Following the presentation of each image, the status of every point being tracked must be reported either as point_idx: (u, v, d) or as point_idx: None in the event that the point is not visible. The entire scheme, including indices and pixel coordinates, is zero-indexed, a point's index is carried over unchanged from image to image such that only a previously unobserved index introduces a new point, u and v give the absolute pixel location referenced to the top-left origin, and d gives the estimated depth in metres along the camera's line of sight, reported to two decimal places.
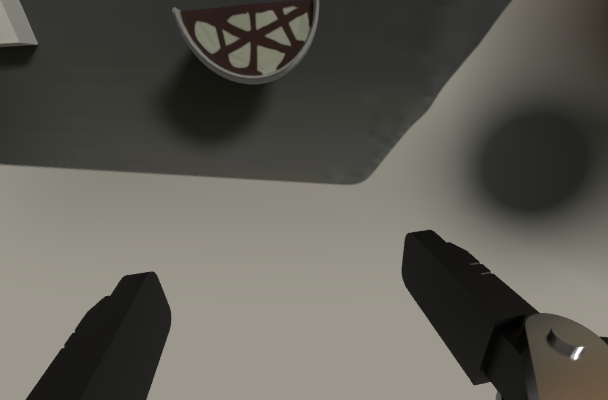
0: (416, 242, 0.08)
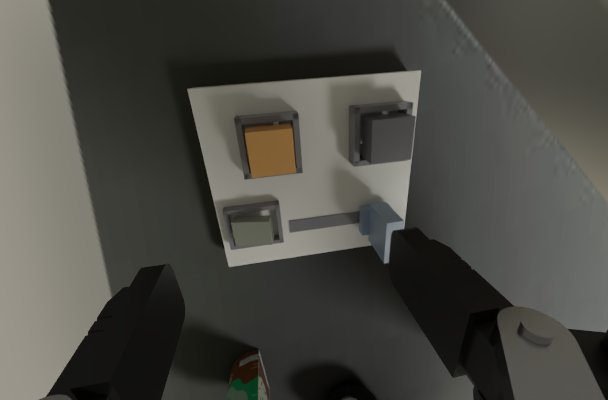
0: (400, 240, 0.09)
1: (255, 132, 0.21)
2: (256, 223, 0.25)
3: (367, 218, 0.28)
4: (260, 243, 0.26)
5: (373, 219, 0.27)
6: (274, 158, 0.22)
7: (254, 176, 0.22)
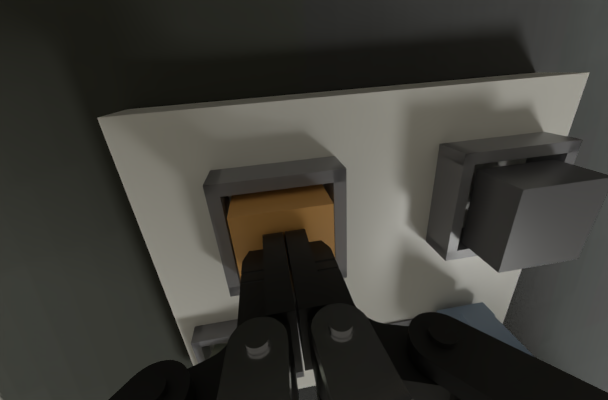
0: (286, 241, 0.09)
1: (251, 215, 0.09)
2: None
3: None
4: None
5: None
6: None
7: None
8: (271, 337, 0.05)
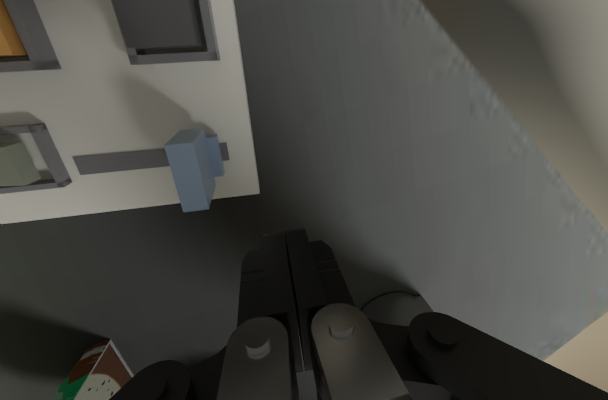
0: None
1: None
2: None
3: None
4: (8, 183, 0.18)
5: None
6: None
7: None
8: (271, 337, 0.05)
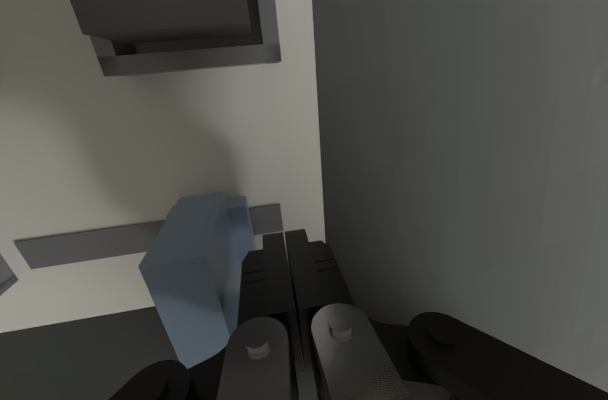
0: (286, 241, 0.09)
1: None
2: None
3: None
4: None
5: None
6: None
7: None
8: (271, 337, 0.05)
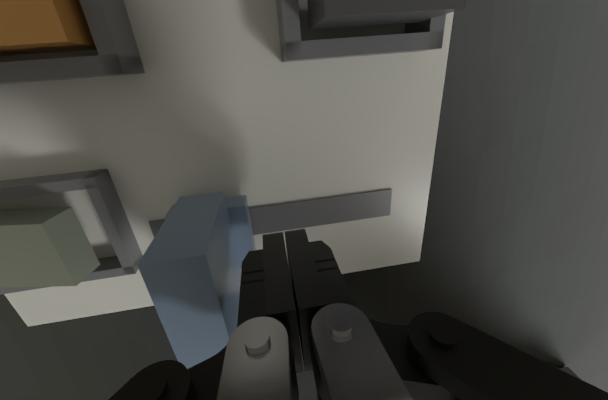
0: (286, 241, 0.09)
1: None
2: (8, 230, 0.09)
3: None
4: (45, 282, 0.10)
5: None
6: None
7: None
8: (271, 337, 0.05)
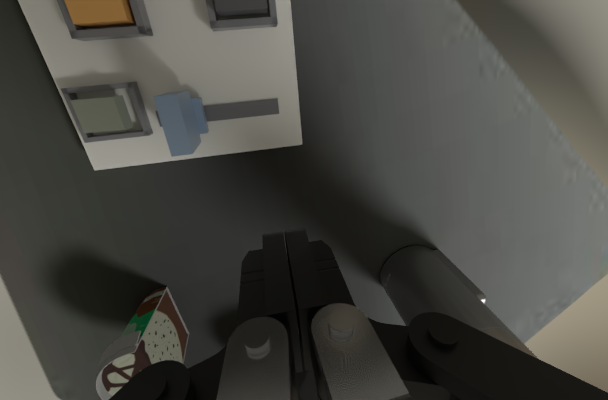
0: (286, 241, 0.09)
1: None
2: (98, 100, 0.22)
3: None
4: (111, 128, 0.23)
5: None
6: None
7: (76, 21, 0.19)
8: (271, 337, 0.05)
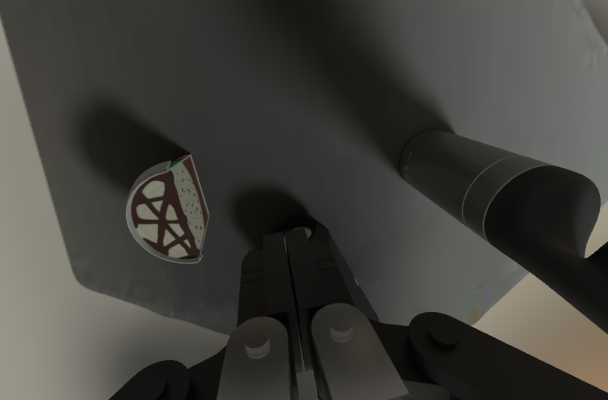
0: (286, 241, 0.09)
1: None
2: None
3: None
4: None
5: None
6: None
7: None
8: (271, 337, 0.05)
